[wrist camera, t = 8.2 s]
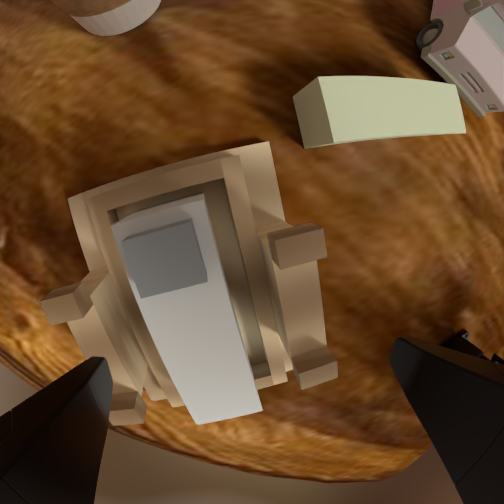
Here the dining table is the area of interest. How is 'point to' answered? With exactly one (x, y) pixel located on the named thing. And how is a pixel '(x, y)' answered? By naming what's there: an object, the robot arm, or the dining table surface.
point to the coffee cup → (108, 14)
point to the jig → (235, 269)
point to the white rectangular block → (188, 306)
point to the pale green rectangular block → (375, 109)
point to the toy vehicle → (468, 50)
